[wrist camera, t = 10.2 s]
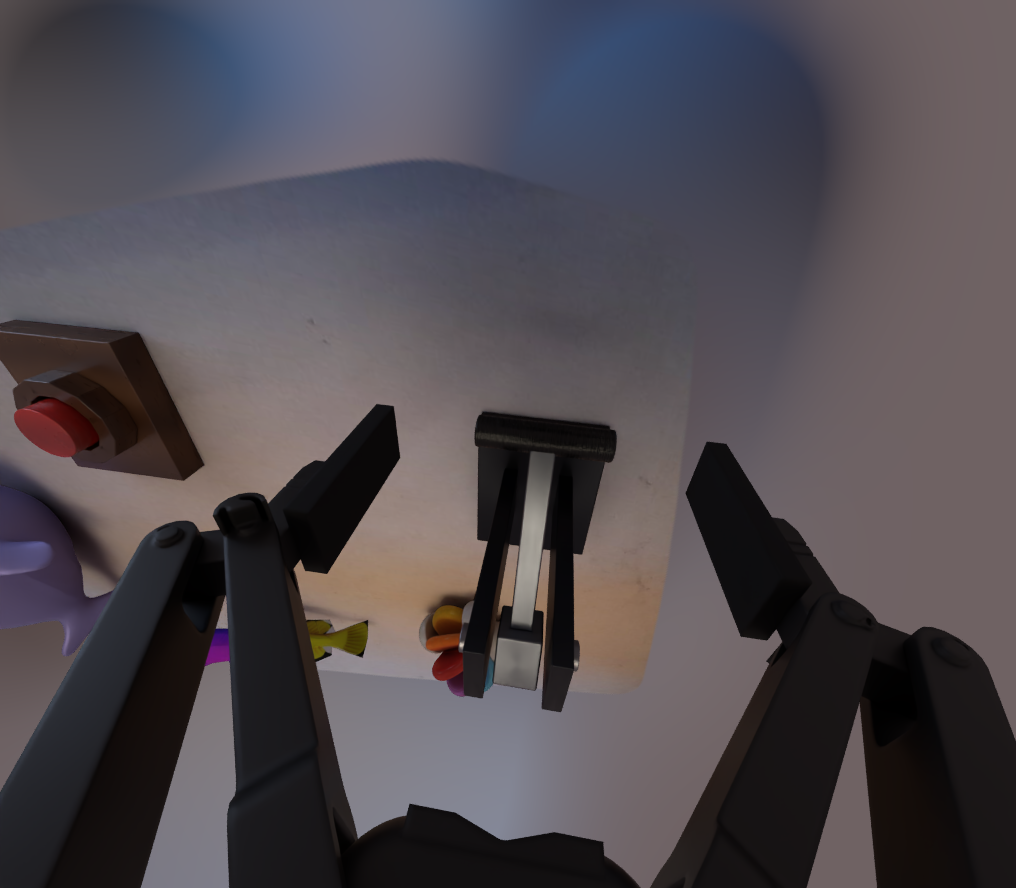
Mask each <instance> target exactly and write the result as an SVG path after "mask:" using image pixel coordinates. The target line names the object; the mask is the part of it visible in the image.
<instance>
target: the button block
mask: <svg viewBox="0 0 1016 888" xmlns="http://www.w3.org/2000/svg"><path fill="white" fill-rule="evenodd" d="M0 360H1V361H2V363H3V364H4V366H5V367H6V368H7V370H8V371H9V372H10V374H11V375H12V377H13V378H14V379H15V381H16V382H17V383H18V386H16V387H15V388H14V389H13V395H14V400H15V405H16V408H17V410H19V409H22V408H24V407H27V406H29V405H32V404H34V403H37V402H39V401H41V400H44V399H47V398H56V399H58V400H60V401H62V402H64V403H66V404H68V405H70V406H72V407H74V408H75V409H76V410H77V411H78V412H80V413H81V414H82V415H83V416H84V417H85V418H87V419H88V420H89V421H90V423H91V424H92V426H93V427H94V429H95V430H96V432H97V434H98V435H99V441H98V442H97V443H95V444H94V445H92V446H90V447H88V448H86V449H84V450H83V451H81V452H79V453H77V454H75V455H73V456H71V457H72V459H73V460H74V461H75V463H76V464H77V466H81V467H88V468H95V469H102V470H110V471H117V472H124V473H132V474H139V475H146V476H153V477H161V478H168V479H175V480H182V481H184V480H185V479H187V478H188V477H189V476H191V475H192V474H193V473H195V472H196V471H197V470H199V469H200V468H201V467H202V466H204V464H203V462H202V460H201V458H200V456H199V454H198V452H197V450H196V448H195V446H194V444H193V442H192V440H191V438H190V436H189V434H188V432H187V430H186V428H185V426H184V424H183V422H182V420H181V418H180V416H179V414H178V412H177V410H176V408H175V406H174V404H173V402H172V400H171V398H170V396H169V394H168V392H167V390H166V388H165V386H164V384H163V382H162V380H161V378H160V376H159V374H158V372H157V370H156V368H155V366H154V364H153V362H152V359H151V357H150V355H149V353H148V351H147V349H146V347H145V345H144V343H143V341H142V339H141V337H140V335H139V333H134V332H125V331H115V330H106V329H96V328H87V327H77V326H67V325H58V324H48V323H39V322H29V321H20V320H13V321H9V322H4V323H0Z"/></svg>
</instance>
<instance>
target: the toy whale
mask: <svg viewBox="0 0 1016 888" xmlns="http://www.w3.org/2000/svg"><path fill="white" fill-rule="evenodd" d="M113 591H114V590H113ZM113 591H111V592H108V593H106V594H103V595H101V596H98V597H94V598H89V597H87V596H86V595H85V594H84V590H83V575H82V568H81V565H80V563H79V561H78V559H77V557H76V554H75V551H74V548H73V543H72V540H71V538H70V536H69V534H68V533H67V531H66V529H65V528H64V526H63V525H62V523H61V522H60V520H59V519H58V518H57V516H56V515H55V514H54V513H53V512H52V511H51V510H50V509H49V508H48V507H47V506H46V505H45V504H43V503H42V502H41V501H39V500H37V499H36V498H34V497H32V496H30V495H28V494H26V493H23V492H21V491H18V490H15V489H13V488H9V487H6V486H2V485H0V629H7V628H15V627H21V626H27V625H31V624H37V623H41V622H47V621H59V622H60V623H61V624H62V625H63V628H64V632H65V639H64V643H63V647H62V654H63V655H64V656H69V655H71V654H72V653H74V652H75V650H76V649H77V648H78V647H79V646H80V644H81V643H82V641H83V640H84V639H85V638H86V636H87V635H88V634H89V633H90V632H91V630H92V628H93V626H94V624H95V623H96V621H97V619H98V617H99V616H100V614H101V612H102V610H103V608H104V607H105V605H106V603H107V601H108V600H109V598H110V596H111V594H112V592H113Z"/></svg>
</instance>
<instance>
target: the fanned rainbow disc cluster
mask: <svg viewBox="0 0 1016 888" xmlns="http://www.w3.org/2000/svg"><path fill="white" fill-rule="evenodd" d="M473 603H474V601H470V602H468V603H467V604H466V605H465V607H464V609H461V608H459V607H456V606H451V605H445V606H442V607H440V608H438V609H437V610H436V612H433V613H431V614H429V615H428V616H427V617H426V618H425V619H424V620H423V622H422V623H421V626H420V629H419V639H420V642H421V644H422V646H423V647H424V648H425V649H426V650H427V651H429V652H431V653H441V652H443V653H442V654H441V655H440V656H439V658H438V659H437V660H436V661H435V663H434V665H433V668H432V673H433V676H434V677H435V678H436V679H437V680H440V681H445V680H447V684H448V687H449V689H450V690H451V692H452V693H453V694H455V695H457V696H461V697H463V696H465V695H464V687H463V653H462V652H459V650H458V647H459V638H460V633H461V629H462V626H463V623H464V622H466V623H469V620H470V616H471V612H472V607H473ZM499 623H500V622H496V624H495V629H494V635H493V641H492V647H491V653H490V659H489V665H488V670H487V676H486V682H485V688H484V692H485V691H487V690H488V689H489V688H490V687H491V686H492V685H493V682H492V679H493V669H494V660H495V650H496V641H497V634H498V629H499Z"/></svg>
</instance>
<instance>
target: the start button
mask: <svg viewBox="0 0 1016 888" xmlns="http://www.w3.org/2000/svg"><path fill="white" fill-rule="evenodd" d="M14 420H15V423H16V425H17V427H18V428H19V430H20V431H21V432H22V433H23V435H24V436H25V437H26V438H28V439H29V440H30V441H31V442H32V443H33V444H35V445H36V446H38V447H39V448H41V449H43V450H44V451H46V452H48V453H51V454H53V455H56V456H60V457H71V456H73V455H75V454H77V453H79V452H81V451H83V450H84V449H86V448H88V447H90V446H92V445H94V444H95V443H97V442H98V441H99V435H98V434H97V432H96V430H95V429H94V427H93V426H92V424H91V423H90V421H89V420H88V419H87V418H85V417H84V416H83V415H82V414H81V413H80V412H78V411H77V410H76V409H75V408H74V407H72V406H70V405H68V404H66V403H64V402H62V401H60V400H58V399H56V398H47V399H44V400H41V401H39V402H37V403H34V404H32V405H29V406H27V407H24V408H22V409H19V410H17V411H16V412H15V414H14Z"/></svg>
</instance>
